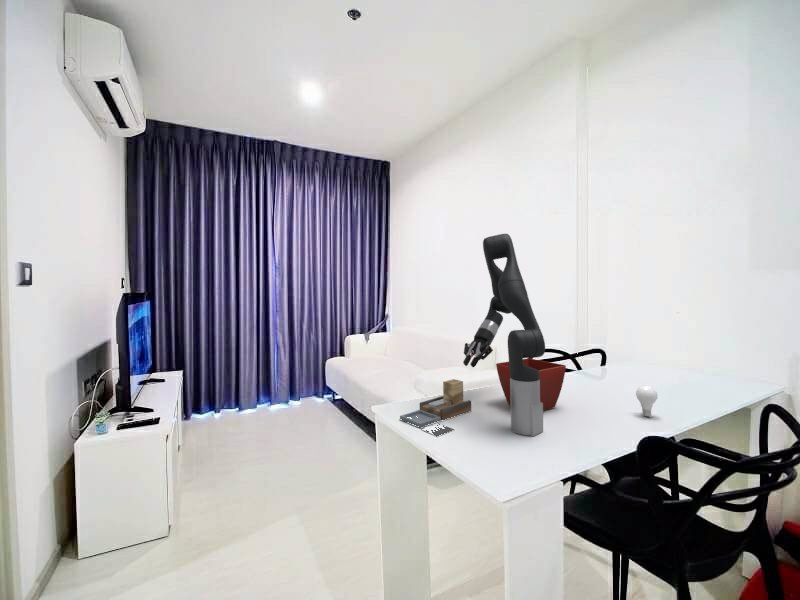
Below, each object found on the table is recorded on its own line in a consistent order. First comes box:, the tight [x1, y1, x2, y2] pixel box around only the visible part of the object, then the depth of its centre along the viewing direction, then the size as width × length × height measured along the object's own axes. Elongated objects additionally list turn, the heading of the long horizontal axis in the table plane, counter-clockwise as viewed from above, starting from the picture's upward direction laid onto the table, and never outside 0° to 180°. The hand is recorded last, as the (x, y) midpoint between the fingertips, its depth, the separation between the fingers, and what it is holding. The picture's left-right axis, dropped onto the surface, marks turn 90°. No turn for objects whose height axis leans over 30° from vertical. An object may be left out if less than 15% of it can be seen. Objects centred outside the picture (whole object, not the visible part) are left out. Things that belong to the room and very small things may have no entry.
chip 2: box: [438, 399, 451, 407], centre depth 139 cm, size 4×4×2 cm
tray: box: [399, 409, 441, 428], centre depth 132 cm, size 11×10×2 cm
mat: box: [426, 422, 455, 437], centre depth 122 cm, size 8×8×1 cm
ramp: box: [419, 395, 472, 421], centre depth 140 cm, size 12×16×4 cm
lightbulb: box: [635, 385, 658, 418], centre depth 129 cm, size 6×6×11 cm
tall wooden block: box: [442, 378, 464, 405], centre depth 143 cm, size 5×6×8 cm
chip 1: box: [429, 401, 444, 410], centre depth 137 cm, size 4×4×2 cm
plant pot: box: [495, 358, 567, 411], centre depth 144 cm, size 19×19×17 cm
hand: (468, 365), depth 148 cm, fingers open, 3 cm apart
